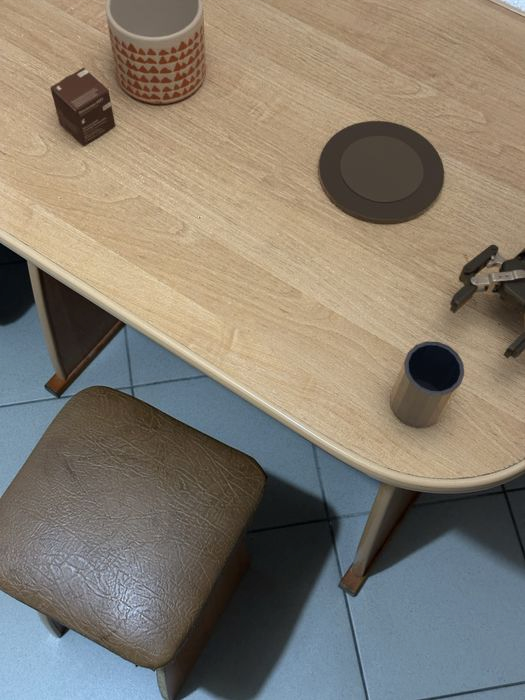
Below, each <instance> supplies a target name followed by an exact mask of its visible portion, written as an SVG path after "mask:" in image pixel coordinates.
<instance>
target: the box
mask: <svg viewBox="0 0 525 700" xmlns="http://www.w3.org/2000/svg"><path fill="white" fill-rule="evenodd" d="M50 91H51V92H50V93H51V96H52V99H53V103H54V107H55V111H56V115H57V119H58V123H59V124H60V125H61V126H62V127H63V128H64V129H65V130H66V131H67V132H68V133H69V134H70V135H72V136H73V138H75V140H77V141H78V142H79V143H80V144H81V145H82V146H86V145H88V144H89V143H91V142H93V141H94V140H96V139H98V138H99V137H101V136H103V135H104V134H106V133H107V132H109V131H110V130H112V129H114V128H115V126H116V122H115V117H114V111H113V106H112V101H111V96H110V90H109V89H108V87H106V86H105V85H104V84H103V83H102V82H100V81H99V80H98V78H96V77H95V76H94V75H93V74H92V73H90V71H88V70H87V69H86V68H85V67H82V68H80V69H78V70H77V71H75V72H73V73H72V74H69V75H67V76H65V77H64V78H63V79H62V80H60V81H59V82H57V83H55V84H54V85H52V86H50Z"/></svg>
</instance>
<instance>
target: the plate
mask: <svg viewBox="0 0 525 700" xmlns="http://www.w3.org/2000/svg"><path fill="white" fill-rule="evenodd" d="M318 177H319V182H320V185H321V188H322V189H323V192H324V194H325V195H326V196H327V198H328V199H329V200H330V202H331V203H333V205H334V206H336V207H337V208H338V209H339V210H341V211H342V212H343V213H345V214H347V215H349V216H350V217H352V218H354V219H357V220H359V221H363V222H366V223H371V224H377V225H395V224H402V223H406V222H409V221H411V220H415V219H416V218H418V217H420V216H422V215H424V214H425V213H426V212H428V210H430V209H432V207H433V206H434V205H435V203H436V202H437V200H438V199H439V197H440V195H441V192H442V189H443V186H444V181H445V167H444V163H443V161H442V158H441V156H440V154H439V152H438V150H437V149H436V147H435V146H434V145H433V144H432V143H431V142H430V141H429V140H428V139H427V138H425V136H423V135H422V134H420V133H419V132H418V131H416V130H414V129H412V128H410V127H408V126H405V125H403V124H400V123H396V122H392V121H386V120H385V121H384V120H368V121H360V122H356V123H353V124H351V125H348V126H346V127H344V128H342V129H340V130H339V131H337V132H336V133H334V134H333V135H332V136H331V137H330V138H329V139H328V140H327V142H326V143H325V145H324V147H322V150H321V152H320V156H319V160H318Z"/></svg>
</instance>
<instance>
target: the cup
mask: <svg viewBox="0 0 525 700" xmlns="http://www.w3.org/2000/svg"><path fill="white" fill-rule="evenodd" d="M464 365H465V364H464V362H463V360H462V358H461V357H460V355H459V353H458V352H457V351H456V350H455V349H453V347H451V346H449V345H448V344H445V343H443V342H440V341H431V340H427V341H423V342H420V343H417V344H415V345H414V346H413V347H412V348H411V349H410V350H409V351H408V352H407V353H406V356H405V359H404V361H403V364H402V366H401V369H400V371H399V373H398V376H397V378H396V380H395V383H394V385H393V388H392V391H391V393H390V398H389V404H390V409H391V410H392V413H393V414H394V416H395V417H396V418H397V420H399V421H400V422H401V423H403V424H405V425H406V426H408V427H412V428H414V429H415V428H417V429H424V428H428V427H431V426H433V425H435V424H436V423H437V422H439V421H440V419H441V418H442V417H443V416H444V414H445V412H446V410H447V409H448V407H449V405H450V403H451V402H452V400H453V399H454V396H455V395H456V393H457V391H458V389H459V388H460V386H461V384H462V383H463V380H464V377H465V366H464Z"/></svg>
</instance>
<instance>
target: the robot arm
mask: <svg viewBox="0 0 525 700" xmlns="http://www.w3.org/2000/svg"><path fill="white" fill-rule="evenodd" d="M495 267H497V268H498V272H490V273H489V274H487V275H478V274H479V273H481V272H482V270H484V269H485V268H486V269H492V268H495ZM458 281H459V282H460V283H462V284H463V286H462V287H461V288H460V289H459V290H457V292H455V293H454V294H453V295H452V298H451V300H450V302H449V305H450V307H449V311H450V312H452V313H453V314H456V313H457V312H458V311H459V310H460V309H461V308H463V307H464V305H466V304H467V303H468V302H469V301H471V300H472V298H473V296H474V295H483V294H484V295H485V296H495V295H499V297H498V298H499V299H500V300H501V301H502V302H503V303H505V304H507V305H509V306H510V308H512V309H513V311H515V312H516V313H517V314H523V327H524V328H525V247H524V248H523V249H522V250H520V252H519V253H517V254H516V255H515V256H514V257H512V258H510V259H505V258H504V257H503V256H502V255H501V254H500V253H499V246H498V245H496V244H490V245H489V246H487V247H486V248H485V249H484V250H483V251H481V252H480V253H478V254H477V255H476V256H474V257H473V258H472V259H471V260H470V261H468V262H467V263H465V264H464V265H463V267H462V269H461V271H460V273H459V275H458ZM524 352H525V331H523V332H522V333H521V334H520V335H519V336H518V337H517V338H516V339H515V340H514V341H513V342H512V343H511V344H510V345H509V346H508V347H507V348H506V349H505V351H504V353H503V354H502V355H503V356H504V357H505V358H506V359H507V360H508V359H509V358H510V357H511V358H513V359H515V358H518V357H519V356H520V355H522V353H524Z"/></svg>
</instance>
